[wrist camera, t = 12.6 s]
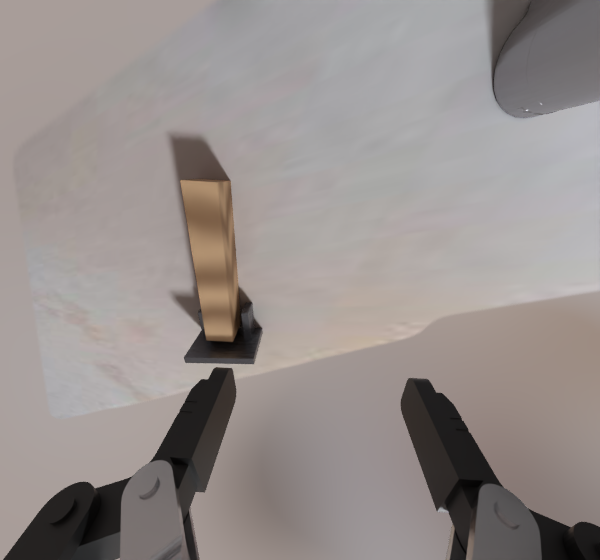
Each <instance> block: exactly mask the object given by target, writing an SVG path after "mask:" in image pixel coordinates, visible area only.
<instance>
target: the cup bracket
mask: <svg viewBox="0 0 600 560" xmlns="http://www.w3.org/2000/svg"><path fill="white" fill-rule="evenodd" d="M198 315H199V320H200V324H201V328H202V331H201V332H200V334H199V335H198V337H197V338H196V340H195V341H194V343H193V344H192V346H191V348H190V349H189V351H188V352H187V354H186V355H185V357H184V360H185V363H224V364H254V362H255V359H256V355H257V351H258V348H259V344H260V340H261V336H262V328H255V325H254V316H253V306H252V303H246V304H245V306H244V308H243V310H242V312H241V316H242V324H243V328H239V329H238V331H237V334H236V336H235V338H234V341H233V342H225V341H207V340H206V335H205V329H204V323H203V317H202V311H201V309H200V311H199V312H198Z"/></svg>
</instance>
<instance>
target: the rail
mask: <svg viewBox="0 0 600 560" xmlns="http://www.w3.org/2000/svg"><path fill="white" fill-rule="evenodd" d="M180 183H181V189H182V195H183V201H184V207H185V213H186V219H187V225H188V231H189V238H190V244H191V250H192V256H193V262H194V268H195V274H196V280H197V286H198V293H199V299H200V305H201V311H202V317H203V323H204V329H205V335H206V340H207V341H225V342H233V341H234V338H235V336H236V334H237V331H238V329H239V327H240V324H241V315H240V302H239V288H238V275H237V262H236V248H235V235H234V221H233V208H232V195H231V181H226V180H208V179H190V180H180Z"/></svg>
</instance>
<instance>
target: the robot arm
mask: <svg viewBox="0 0 600 560" xmlns="http://www.w3.org/2000/svg"><path fill="white" fill-rule="evenodd" d="M494 92H495V95H496V99H497V102H498V103H499V105H500V107H501V108H502V109H503V110H504V111H505V112H506V113H507V114H509V115H512V116H514V117H519V118H528V117H534V116H538V115H543V114H549V113H553V112H556V111H559V110H563V109H567V108H572V107H576V106H580V105H584V104H588V103H592V102H596V101H600V0H532V1H531V3H530V6H529V10H528V12H527V14H526V16H525V17H524V18H523V20H522V21H521V22H520V23H519V25H518V26H517V27H516V28H515V29H514V30H513V32H512V33H511V35H510V36H509V38H508V40H507V41H506V43H505V45H504V47H503V49H502V51H501V53H500V55H499V58H498V62H497V65H496V68H495V76H494ZM235 399H236V386H235V380H234V375H233V370H232V368H218V367H216V368H214V369H213V371H212V373H211V375H210V377H209V379H208V380H205V379H201V380H200V381H199V382H198V383H197V384H196V385H195V386H194V387H193V388H192V389H191V391H190V393H189V395H188V397H187V398H186V401H185V403H184V404H183V406H182V407H181V409H180V412H179V414H178V415H177V417H176V418H175V420H174V422H173V424H172V426H171V428H170V429H169V431H168V433H167V435H166V437H165V438H164V440H163V442H162V444H161V446H160V447H159V449H158V451H157V453H156V454H155V456H154V457H153V459H152V460H151V461H150V462H149V463H148V464H146V465H145V466H144V467H142V468H141V469H139V470H138V471H137V472H136V473H135V474H134V475H133V476H132V477H130V478H128V479H125V480H122V481H119V482H115V483H112V484H109V485H105V486H102V487H99V488H94V487H93V486H92V485H91V484H90V483H88V482H78V483H75V484H72V485H70V486H68V487H67V488H65V489H63V490H61V491H60V492H59V493H57V494H56V495H55V496H54V497H53V498H51V499H50V500H49V501H48V502H47V503H46V504H45V505H44V507H43V508H42V509H41V510H40V511H39V513H38V514H37V515H36V517H35V518H34V519H33V521H32V522H31V523H30V525H29V526H28V527H27V529H26V530H25V532H24V533H23V534H22V535H21V537H20V538H19V539H18V541H17V542H16V544H15V545H14V546H13V547H12V549H11V550H10V551H9V553H8V554H7V555H6V557H5V558H4V559H3V560H115V559H118V558H120V560H199V554H198V548H197V542H196V537H195V531H194V525H193V520H192V515H191V509H190V506H191V503H192V500H193V497H194V495H195V492H205V490H206V487H207V484H208V481H209V478H210V475H211V472H212V469H213V466H214V463H215V460H216V457H217V454H218V451H219V448H220V445H221V442H222V439H223V437H224V434H225V430H226V427H227V424H228V421H229V418H230V416H231V413H232V409H233V407H234V403H235ZM401 411H402V415H403V418H404V420H405V423H406V426H407V429H408V431H409V434H410V437H411V440H412V443H413V445H414V448H415V451H416V454H417V457H418V460H419V462H420V465H421V468H422V471H423V474H424V476H425V479H426V482H427V485H428V488H429V490H430V493H431V496H432V499H433V502H434V504H435V507H436V510H437V512H447V513H449V515H450V517H451V520H452V523H453V524H452V527H451V532H450V538H449V545H448V550H447V555H446V560H600V527H598V526H596V525H594V524H591V523H587V522H579V523H577V524H575V525H574V526H573V527H569V526H566V525H564V524H562V523H559V522H557V521H555V520H552V519H550V518H548V517H545V516H543V515H540V514H538V513H536V512H534V511H532V510H530V509H528V508H527V507H526V506H525V505H524V504H523V503H522V502H521V500H520V499H518V498H517V497H516V496H515V495H514V494H513V493H511V492H510V491H508V490H507V489H505V488H504V487H503V486H502V485H501V484H500V482H499V481H498V479H497V478H496V476H495V474H494V473H493V471H492V469H491V467H490V466H489V464H488V462H487V461H486V459H485V457H484V456H483V454H482V452H481V450H480V449H479V447H478V445H477V443H476V442H475V440H474V438H473V437H472V435H471V433H469V431H468V428H467V426H466V425H465V423H464V421H462V418H461V416H460V415H459V413H458V411H457V410H456V408H455V406H454V405H453V404H452V403H451V402H450V401H449V400H448V399H447V398H446V397H445V396H444V395H443V394H442V393H436V392H435V390H434V388H433V386H432V384H431V383H430V381H429V380H428V379H417V378H409V379H408V380H407V383H406V386H405V389H404V392H403V395H402V399H401Z"/></svg>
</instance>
